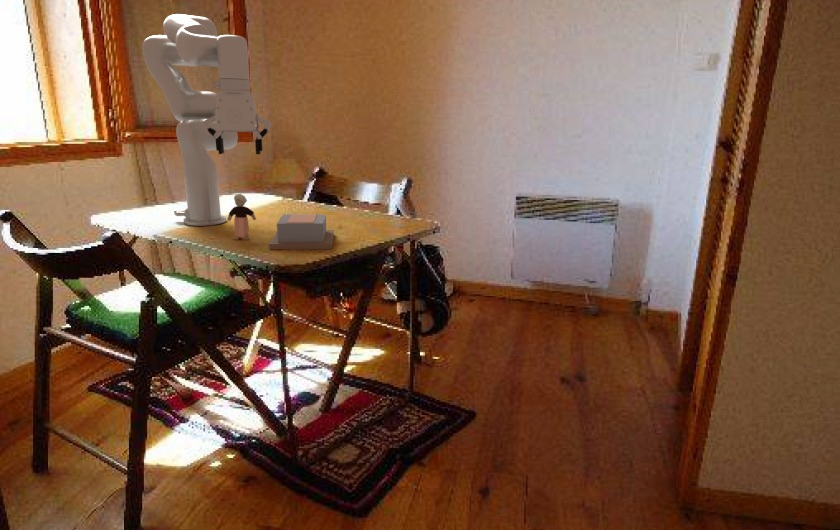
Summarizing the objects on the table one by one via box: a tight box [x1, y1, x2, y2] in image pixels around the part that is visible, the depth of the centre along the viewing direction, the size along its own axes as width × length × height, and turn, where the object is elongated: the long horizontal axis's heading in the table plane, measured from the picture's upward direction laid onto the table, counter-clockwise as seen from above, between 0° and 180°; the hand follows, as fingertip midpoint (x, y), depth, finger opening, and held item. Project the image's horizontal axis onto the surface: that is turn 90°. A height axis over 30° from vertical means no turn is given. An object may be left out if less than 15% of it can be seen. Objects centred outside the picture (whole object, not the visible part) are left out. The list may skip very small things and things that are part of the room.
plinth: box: [268, 213, 335, 251], centre depth 149 cm, size 16×16×7 cm
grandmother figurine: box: [226, 193, 257, 241], centre depth 150 cm, size 8×4×13 cm, turn 106°
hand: (240, 153), depth 145 cm, fingers open, 9 cm apart
